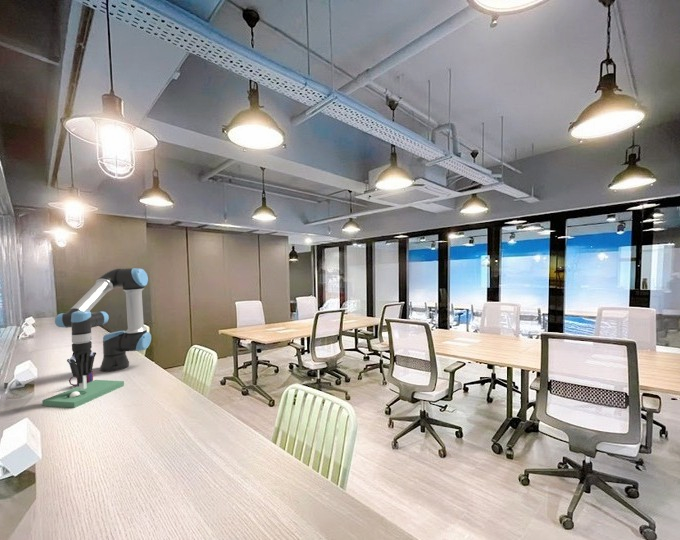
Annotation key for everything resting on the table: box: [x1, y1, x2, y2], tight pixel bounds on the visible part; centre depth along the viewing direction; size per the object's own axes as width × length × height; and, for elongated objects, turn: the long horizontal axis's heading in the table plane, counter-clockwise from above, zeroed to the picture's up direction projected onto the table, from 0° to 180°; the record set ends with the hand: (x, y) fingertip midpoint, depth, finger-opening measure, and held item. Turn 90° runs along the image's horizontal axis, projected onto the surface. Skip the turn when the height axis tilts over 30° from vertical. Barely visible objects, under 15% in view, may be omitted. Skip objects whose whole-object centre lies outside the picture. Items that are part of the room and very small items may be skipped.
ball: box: [69, 391, 80, 397], centre depth 146 cm, size 4×4×4 cm
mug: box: [68, 370, 94, 387], centre depth 164 cm, size 7×10×7 cm
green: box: [41, 379, 125, 409], centre depth 151 cm, size 26×18×2 cm
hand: (82, 388), depth 150 cm, fingers closed
